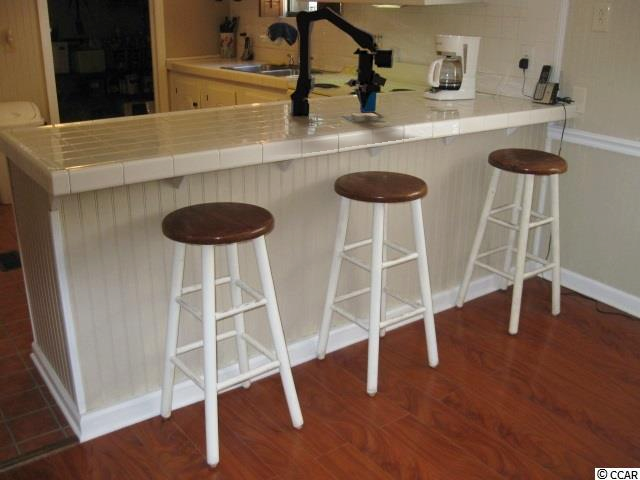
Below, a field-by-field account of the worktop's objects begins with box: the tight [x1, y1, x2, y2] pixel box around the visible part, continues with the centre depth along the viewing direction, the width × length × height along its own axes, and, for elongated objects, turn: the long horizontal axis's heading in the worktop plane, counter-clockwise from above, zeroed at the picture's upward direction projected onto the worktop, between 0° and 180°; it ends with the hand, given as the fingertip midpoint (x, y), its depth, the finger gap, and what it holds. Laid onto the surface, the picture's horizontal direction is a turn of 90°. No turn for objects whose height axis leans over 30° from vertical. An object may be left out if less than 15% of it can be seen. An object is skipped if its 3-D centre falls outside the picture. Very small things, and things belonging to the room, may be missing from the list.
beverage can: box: [359, 83, 378, 113], centre depth 265 cm, size 6×6×12 cm
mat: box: [341, 115, 386, 124], centre depth 249 cm, size 13×14×1 cm
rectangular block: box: [350, 112, 379, 121], centre depth 248 cm, size 9×2×6 cm
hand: (363, 107), depth 248 cm, fingers closed
